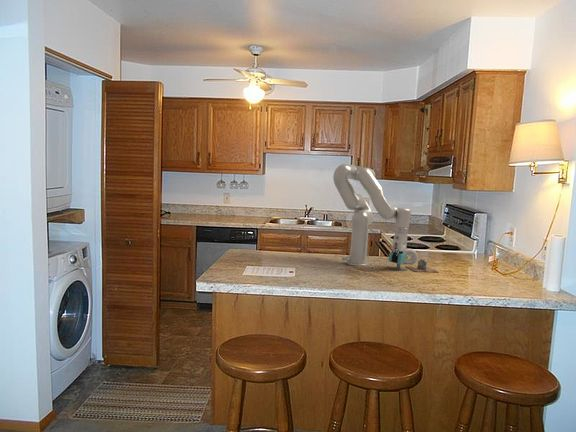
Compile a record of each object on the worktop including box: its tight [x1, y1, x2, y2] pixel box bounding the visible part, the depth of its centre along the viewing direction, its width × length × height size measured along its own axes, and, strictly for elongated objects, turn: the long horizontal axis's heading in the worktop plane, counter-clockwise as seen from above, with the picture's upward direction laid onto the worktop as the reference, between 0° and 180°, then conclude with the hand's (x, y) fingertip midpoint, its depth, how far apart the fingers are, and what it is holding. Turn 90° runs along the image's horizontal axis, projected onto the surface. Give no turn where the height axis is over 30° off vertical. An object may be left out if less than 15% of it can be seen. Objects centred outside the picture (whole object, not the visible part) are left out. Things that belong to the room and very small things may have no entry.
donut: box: [404, 248, 419, 265], centre depth 263 cm, size 10×3×10 cm, turn 89°
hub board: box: [405, 258, 439, 274], centre depth 247 cm, size 14×12×7 cm
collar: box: [387, 251, 407, 265], centre depth 244 cm, size 7×7×5 cm
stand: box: [388, 263, 408, 272], centre depth 244 cm, size 10×10×6 cm
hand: (396, 261), depth 245 cm, fingers closed on collar, 7 cm apart
